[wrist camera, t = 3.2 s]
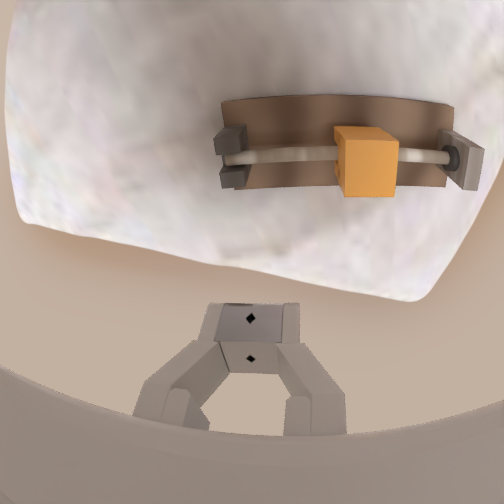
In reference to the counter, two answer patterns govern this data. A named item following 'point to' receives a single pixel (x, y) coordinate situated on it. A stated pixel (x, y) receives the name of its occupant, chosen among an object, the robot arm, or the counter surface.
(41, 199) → the counter surface
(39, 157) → the counter surface
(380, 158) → the notched orange cube
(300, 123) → the cord board
